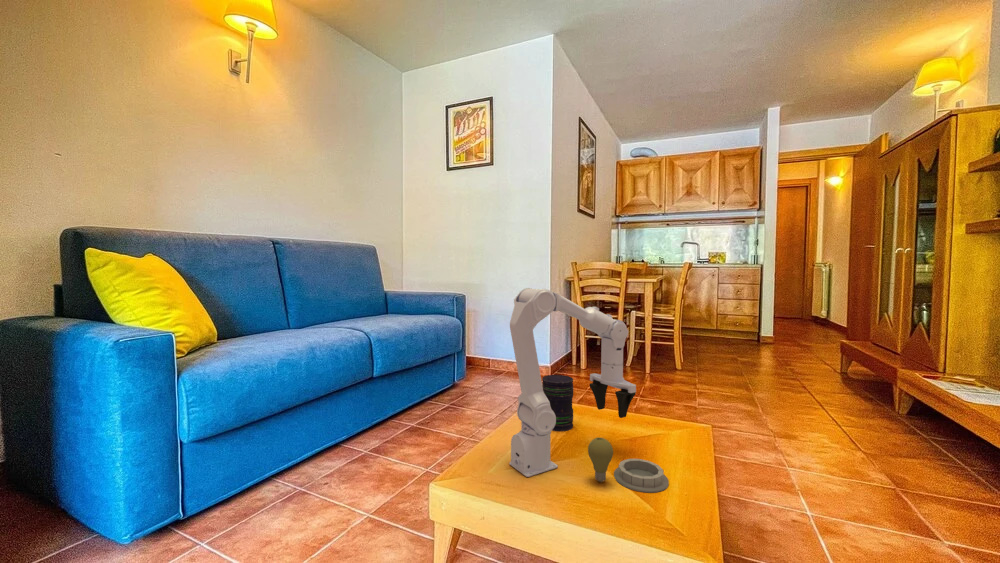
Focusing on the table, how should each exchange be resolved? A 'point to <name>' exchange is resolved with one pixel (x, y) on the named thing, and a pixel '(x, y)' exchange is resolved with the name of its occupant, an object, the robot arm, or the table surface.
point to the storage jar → (560, 399)
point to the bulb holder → (641, 476)
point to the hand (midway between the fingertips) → (611, 412)
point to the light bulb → (600, 457)
